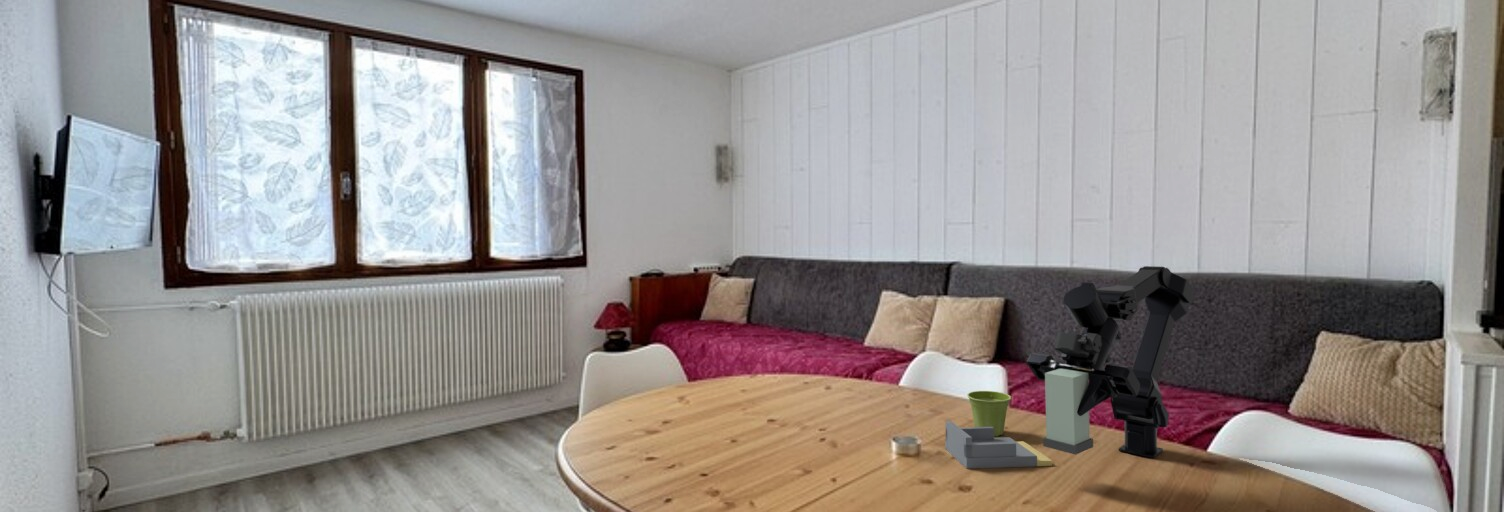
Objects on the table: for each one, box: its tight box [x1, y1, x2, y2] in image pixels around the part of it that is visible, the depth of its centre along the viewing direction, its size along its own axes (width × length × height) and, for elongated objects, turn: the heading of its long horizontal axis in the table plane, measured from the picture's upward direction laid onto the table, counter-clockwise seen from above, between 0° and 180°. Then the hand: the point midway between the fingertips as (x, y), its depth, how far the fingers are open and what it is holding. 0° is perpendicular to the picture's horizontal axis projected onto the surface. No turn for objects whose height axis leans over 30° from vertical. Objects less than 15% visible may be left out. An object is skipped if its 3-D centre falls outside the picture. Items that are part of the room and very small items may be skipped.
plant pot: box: [966, 390, 1012, 438], centre depth 147 cm, size 9×9×9 cm
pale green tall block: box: [1042, 369, 1094, 456], centre depth 116 cm, size 6×6×14 cm
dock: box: [944, 420, 1053, 470], centre depth 131 cm, size 17×12×6 cm
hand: (1063, 411), depth 115 cm, fingers closed on pale green tall block, 5 cm apart
